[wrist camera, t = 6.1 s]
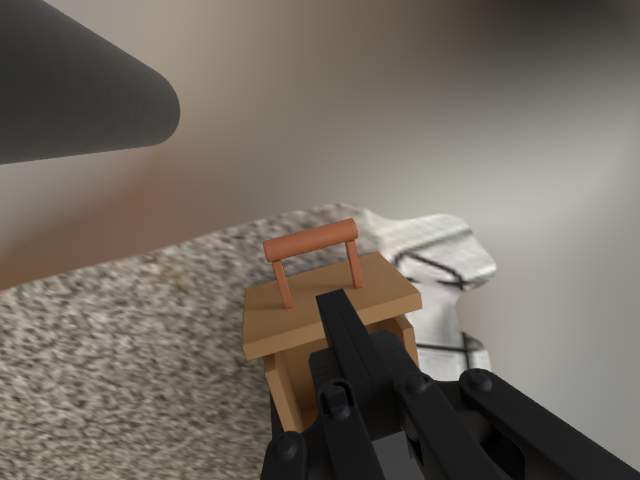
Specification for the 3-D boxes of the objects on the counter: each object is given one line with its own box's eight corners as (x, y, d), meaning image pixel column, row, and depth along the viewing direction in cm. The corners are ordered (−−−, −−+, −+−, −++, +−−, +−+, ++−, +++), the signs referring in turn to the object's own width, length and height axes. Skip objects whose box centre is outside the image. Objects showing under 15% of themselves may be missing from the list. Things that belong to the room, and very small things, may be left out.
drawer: (226, 231, 25) (214, 271, 18) (368, 195, 26) (411, 218, 19) (286, 412, 31) (295, 497, 24) (399, 376, 33) (440, 446, 25)
